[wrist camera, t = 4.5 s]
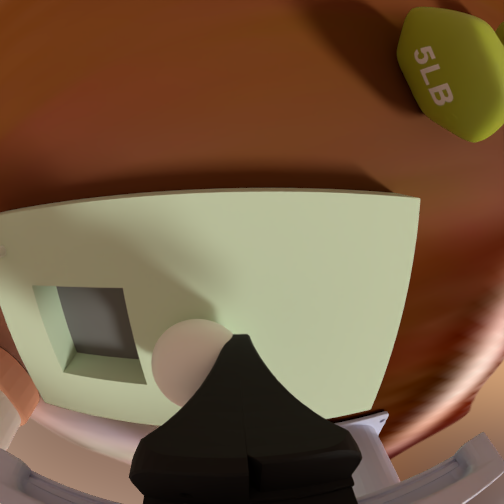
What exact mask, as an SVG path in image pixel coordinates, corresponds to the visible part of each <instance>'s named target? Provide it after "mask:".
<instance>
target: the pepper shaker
mask: <svg viewBox="0 0 504 504" xmlns="http://www.w3.org/2000/svg"><path fill="white" fill-rule="evenodd" d="M39 398H40V396H39V393H38V390H37V388H36V386H35V384H34V382H33V380H32V379H31V377H30V376H29V375H28V373H27V372H26V370H25V369H24V368H23V367H22V366H21V365H20V364H19V362H18V361H17V360H16V359H15V358H13V357H12V356H11V355H10V354H9V353H8V352H6V351H5V350H3V349H2V348H0V448H2V449H3V450H5V451H6V449H7V448H8V447H9V445H10V443H11V441H12V439H13V437H14V435H15V433H16V431H17V429H18V427H19V426H22V425H24V424H26V422H27V421H28V419H29V417H30V416H31V414H32V412H33V411H34V409H35V407H36V406H37V404H38V403H39Z"/></svg>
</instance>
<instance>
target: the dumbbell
mask: <svg viewBox="0 0 504 504" xmlns="http://www.w3.org/2000/svg"><path fill="white" fill-rule="evenodd" d="M397 60H398V63H399V66H400V68H401V70H402V72H403V74H404V77H405V79H406V81H407V83H408V85H409V87H410V89H411V91H412V93H413V96H414V98H415V100H416V102H417V104H418V106H419V107H420V109H421V110H422V112H423V113H424V114H425V115H426V116H427V117H428V118H430V119H431V120H432V121H434V122H435V123H437V124H438V125H440V126H442V127H443V128H445V129H447V130H448V131H450V132H452V133H453V134H455V135H457V136H458V137H460V138H462V139H464V140H467V141H470V142H478V141H481V140H484V139H486V138H487V137H489V136H490V135H492V134H493V133H494V132H496V131H497V130H498V129H499V128H500V127H501V126H502V125H503V124H504V22H502V23H501V24H500V25H499V27H498V28H497V30H496V32H494V31H493V29H492V28H491V27H490V26H489V25H488V24H487V23H486V22H485V21H483V20H482V19H480V18H477V17H475V16H472V15H469V14H466V13H463V12H458V11H454V10H449V9H443V8H434V7H416V8H413V9H411V11H410V12H409V13H408V14H407V16H406V18H405V21H404V24H403V28H402V31H401V35H400V39H399V42H398V47H397Z"/></svg>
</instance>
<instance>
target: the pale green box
mask: <svg viewBox="0 0 504 504" xmlns="http://www.w3.org/2000/svg"><path fill="white" fill-rule="evenodd" d="M419 208H420V198H416V197H412V196H407V195H402V194H397V193H390V192H377V191H362V190H343V189H317V188H220V189H194V190H175V191H160V192H146V193H134V194H123V195H113V196H103V197H95V198H86V199H78V200H71V201H63V202H56V203H50V204H43V205H37V206H31V207H25V208H20V209H14V210H9V211H5V212H1V213H0V306H1V309H2V312H3V314H4V317H5V320H6V323H7V325H8V328H9V331H10V333H11V336H12V338H13V340H14V343H15V345H16V347H17V350H18V352H19V354H20V356H21V359H22V361H23V363H24V365H25V367H26V369H27V371H28V373H29V375H30V377H31V379H32V380H33V382H34V384H35V386H36V388H37V390H38V391H39V393H40V395H41V397H42V398H43V400H44V402H45V403H48V404H51V405H55V406H58V407H62V408H65V409H69V410H73V411H76V412H81V413H85V414H89V415H94V416H98V417H103V418H108V419H114V420H120V421H126V422H133V423H140V424H148V425H157V426H161V425H163V424H164V423H165V422H166V421H168V420H169V419H170V418H171V417H172V416H173V415H174V414H176V413H177V412H178V411H179V410H180V409H181V408H182V407H180V406H178V405H176V404H174V403H173V402H171V401H170V400H169V399H168V398H166V397H165V396H164V394H163V393H162V392H161V391H160V389H159V388H158V386H157V384H156V382H155V380H154V377H153V373H152V366H151V360H152V353H153V350H154V347H155V345H156V343H157V341H158V339H159V338H160V336H161V335H162V334H163V333H164V332H165V331H166V330H167V329H168V328H170V327H171V326H173V325H175V324H177V323H179V322H181V321H185V320H189V319H205V320H210V321H213V322H216V323H218V324H220V325H222V326H224V327H225V328H227V329H228V330H229V331H231V332H232V333H233V334H248V335H249V336H250V338H251V341H252V343H253V345H254V347H255V349H256V350H257V352H258V354H259V356H260V357H261V359H262V360H263V362H264V363H265V364H266V366H267V367H268V369H269V370H270V371H271V372H272V374H273V375H274V376H275V377H276V379H277V380H278V381H279V382H280V383H281V384H282V385H283V386H284V387H285V388H286V389H287V390H288V391H289V392H290V393H291V394H292V395H293V396H294V397H296V398H297V399H298V400H299V401H300V402H302V403H303V404H304V405H306V406H307V407H308V408H310V409H311V410H312V411H314V412H315V413H317V414H318V415H320V416H321V417H323V418H325V419H329V418H334V417H339V416H344V415H349V414H353V413H358V412H362V411H366V410H370V409H371V407H372V405H373V403H374V400H375V398H376V395H377V392H378V390H379V387H380V385H381V382H382V379H383V376H384V373H385V371H386V368H387V365H388V362H389V359H390V355H391V352H392V349H393V346H394V342H395V339H396V335H397V332H398V328H399V324H400V321H401V317H402V313H403V308H404V304H405V300H406V295H407V291H408V286H409V281H410V275H411V270H412V264H413V258H414V251H415V244H416V237H417V229H418V219H419Z"/></svg>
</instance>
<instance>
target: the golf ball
mask: <svg viewBox="0 0 504 504" xmlns="http://www.w3.org/2000/svg"><path fill="white" fill-rule="evenodd" d="M232 336H233V333H232V332H231V331H229V330H228V329H227V328H225V327H224V326H222V325H220V324H218V323H216V322H213V321H210V320H205V319H189V320H185V321H181V322H179V323H177V324H175V325H173V326H171V327H170V328H168V329H167V330H166V331H165V332H164V333H163V334H162V335H161V336H160V338H159V339H158V341H157V343H156V345H155V347H154V350H153V353H152V360H151V366H152V373H153V377H154V380H155V382H156V384H157V386H158V388H159V389H160V391H161V392H162V393H163V394H164V396H165V397H166V398H168V399H169V400H170V401H171V402H173V403H174V404H176V405H178V406H180V407H183V406H184V405H185V404H186V403H187V402H188V400H189V399H190V398H191V397H192V396H193V395H194V394H195V392H196V391H197V390H198V389H199V387H200V386H201V385H202V383H203V382H204V380H205V379H206V377H207V375H208V374H209V372H210V371H211V369H212V367H213V366H214V364H215V362H216V360H217V358H218V356H219V354H220V351H221V349H222V348H223V346H224V345H225V343H226V342H228V341H229V340H230V339H231V338H232Z"/></svg>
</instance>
